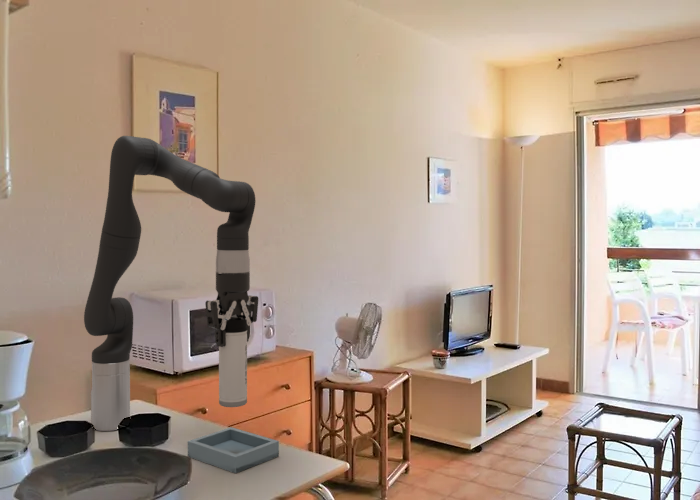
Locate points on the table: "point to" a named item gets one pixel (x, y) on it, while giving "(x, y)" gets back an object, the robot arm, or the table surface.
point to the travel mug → (233, 364)
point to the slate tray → (233, 449)
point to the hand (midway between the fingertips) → (232, 343)
